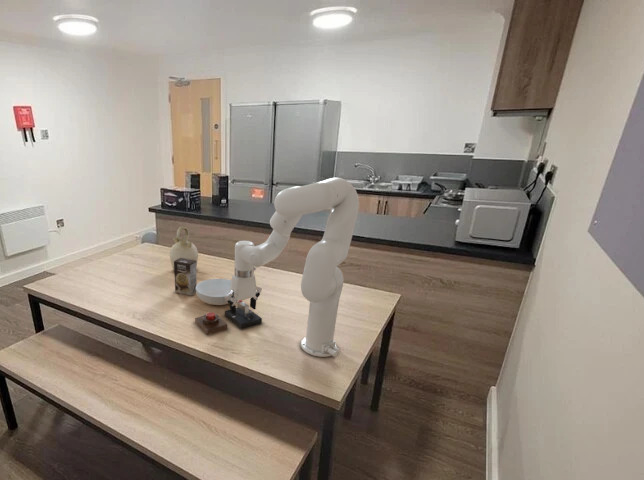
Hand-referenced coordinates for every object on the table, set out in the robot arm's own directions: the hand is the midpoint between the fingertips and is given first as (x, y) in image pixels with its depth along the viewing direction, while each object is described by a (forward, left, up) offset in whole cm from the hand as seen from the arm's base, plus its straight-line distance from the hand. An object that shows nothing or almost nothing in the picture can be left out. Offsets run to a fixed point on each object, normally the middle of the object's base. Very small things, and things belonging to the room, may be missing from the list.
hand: (243, 310), depth 155 cm
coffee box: (+37, +9, -4) cm, 38 cm away
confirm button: (+2, +14, -1) cm, 14 cm away
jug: (+63, -2, -4) cm, 63 cm away
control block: (+2, +14, -4) cm, 15 cm away
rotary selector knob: (0, 0, -2) cm, 2 cm away
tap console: (0, 0, -4) cm, 4 cm away
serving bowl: (+21, 0, -4) cm, 21 cm away
